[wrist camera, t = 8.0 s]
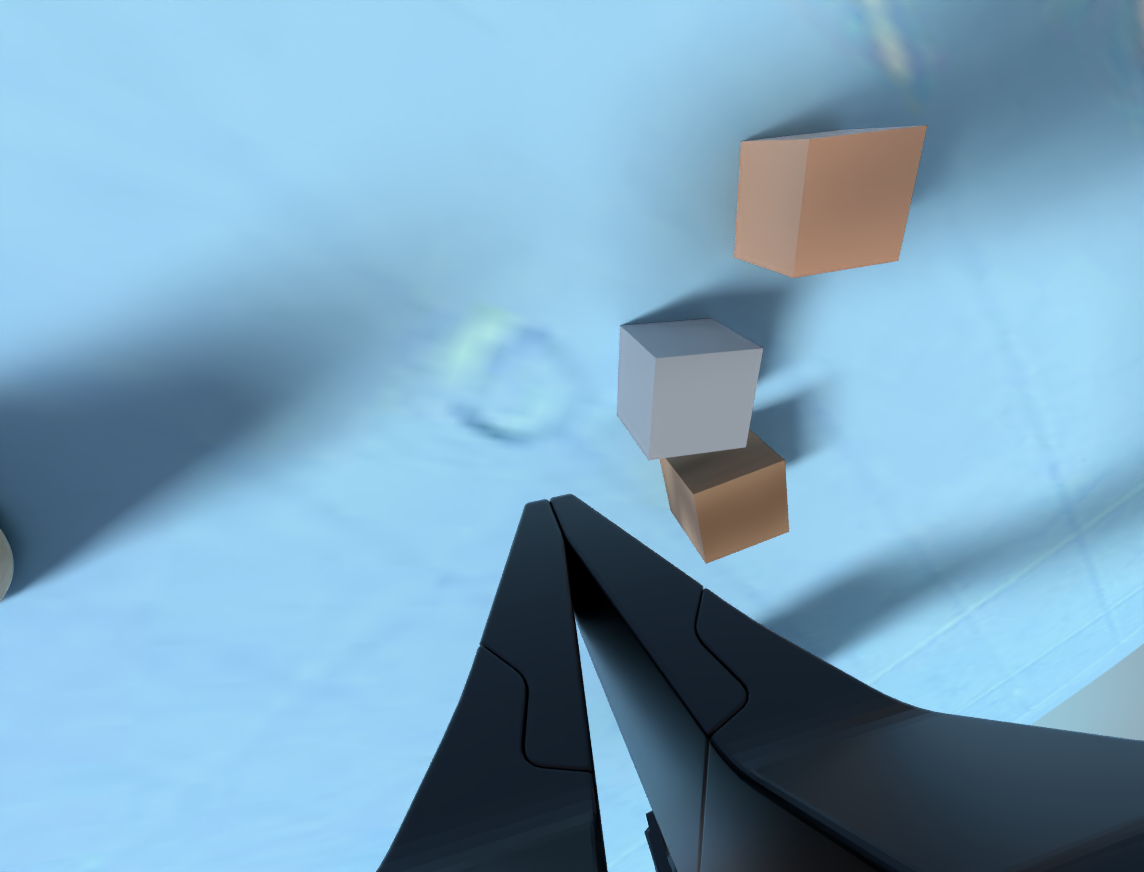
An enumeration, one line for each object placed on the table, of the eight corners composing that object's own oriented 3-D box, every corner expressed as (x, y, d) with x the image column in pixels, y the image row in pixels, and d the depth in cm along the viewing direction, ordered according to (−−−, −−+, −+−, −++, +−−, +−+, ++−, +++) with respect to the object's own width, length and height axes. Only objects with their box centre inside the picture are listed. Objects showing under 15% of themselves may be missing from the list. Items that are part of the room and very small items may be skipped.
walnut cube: (743, 482, 26) (789, 531, 23) (670, 509, 26) (705, 563, 23) (735, 416, 24) (784, 460, 21) (656, 446, 24) (693, 494, 21)
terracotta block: (823, 243, 21) (898, 260, 18) (733, 256, 21) (792, 277, 17) (839, 129, 19) (927, 125, 16) (740, 141, 19) (809, 139, 15)
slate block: (700, 404, 23) (745, 447, 20) (616, 414, 23) (648, 460, 19) (711, 317, 22) (763, 348, 18) (619, 324, 21) (656, 358, 17)
